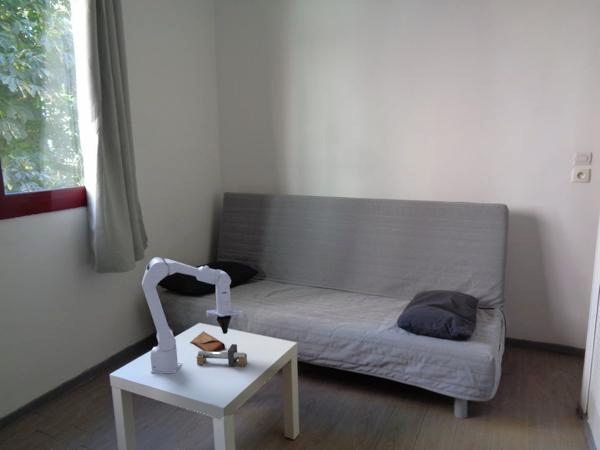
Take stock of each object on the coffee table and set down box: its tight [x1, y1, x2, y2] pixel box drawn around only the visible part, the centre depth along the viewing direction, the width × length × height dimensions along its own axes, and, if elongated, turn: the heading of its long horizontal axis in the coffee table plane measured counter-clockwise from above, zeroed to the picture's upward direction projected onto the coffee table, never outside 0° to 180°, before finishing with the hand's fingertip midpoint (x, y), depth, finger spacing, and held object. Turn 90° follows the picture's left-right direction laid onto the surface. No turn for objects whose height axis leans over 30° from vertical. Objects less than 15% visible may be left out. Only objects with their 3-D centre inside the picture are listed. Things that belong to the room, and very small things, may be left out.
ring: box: [227, 343, 238, 367], centre depth 179 cm, size 2×6×6 cm, turn 172°
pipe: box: [196, 350, 248, 368], centre depth 180 cm, size 19×4×5 cm, turn 82°
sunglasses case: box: [189, 330, 226, 352], centre depth 198 cm, size 18×7×7 cm, turn 42°
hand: (225, 332), depth 185 cm, fingers closed
